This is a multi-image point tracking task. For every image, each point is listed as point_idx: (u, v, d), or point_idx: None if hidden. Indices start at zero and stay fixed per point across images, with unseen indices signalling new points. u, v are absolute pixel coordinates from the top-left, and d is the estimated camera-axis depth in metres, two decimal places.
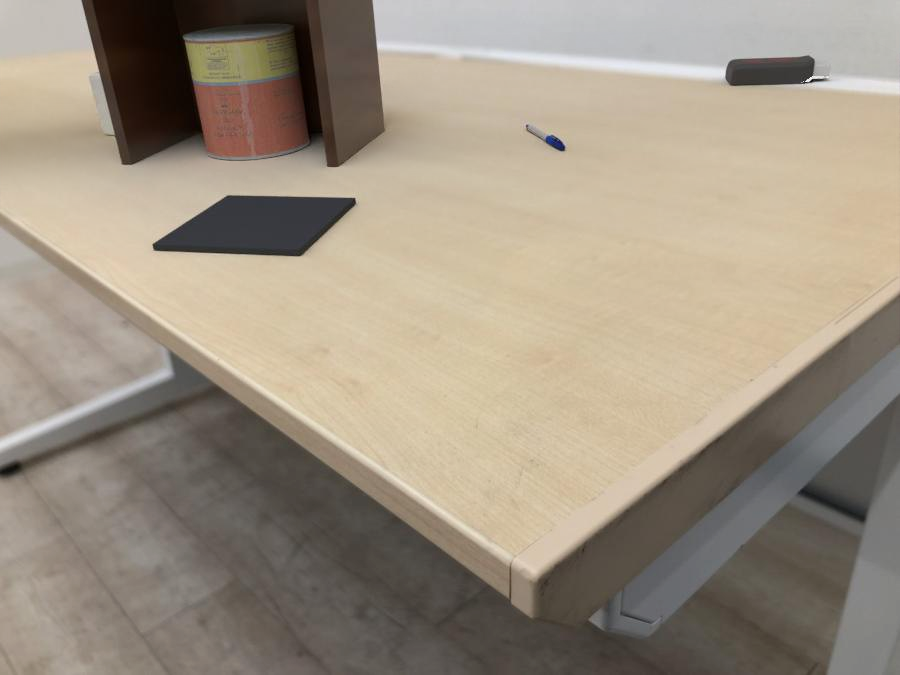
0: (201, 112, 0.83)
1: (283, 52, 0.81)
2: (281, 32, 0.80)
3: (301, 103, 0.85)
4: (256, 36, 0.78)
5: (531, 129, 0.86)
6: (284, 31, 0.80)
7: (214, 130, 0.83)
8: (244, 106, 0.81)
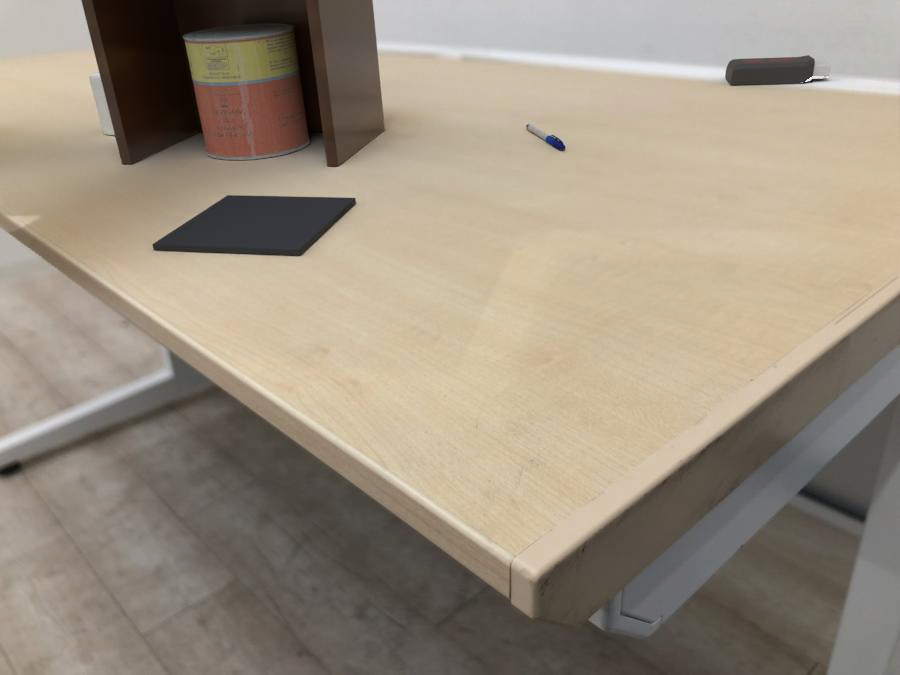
0: (201, 112, 0.83)
1: (283, 51, 0.81)
2: (281, 32, 0.80)
3: (301, 103, 0.85)
4: (256, 36, 0.78)
5: (531, 129, 0.86)
6: (284, 31, 0.80)
7: (214, 130, 0.83)
8: (244, 106, 0.81)
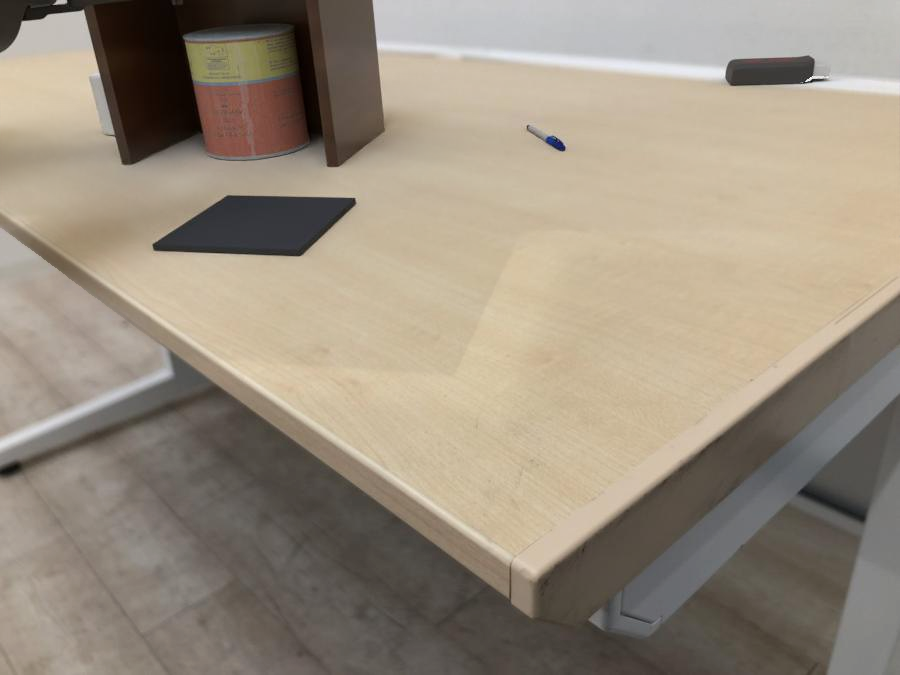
0: (201, 112, 0.83)
1: (283, 51, 0.81)
2: (281, 32, 0.80)
3: (301, 103, 0.85)
4: (256, 36, 0.78)
5: (532, 129, 0.86)
6: (284, 31, 0.80)
7: (214, 130, 0.83)
8: (244, 106, 0.81)
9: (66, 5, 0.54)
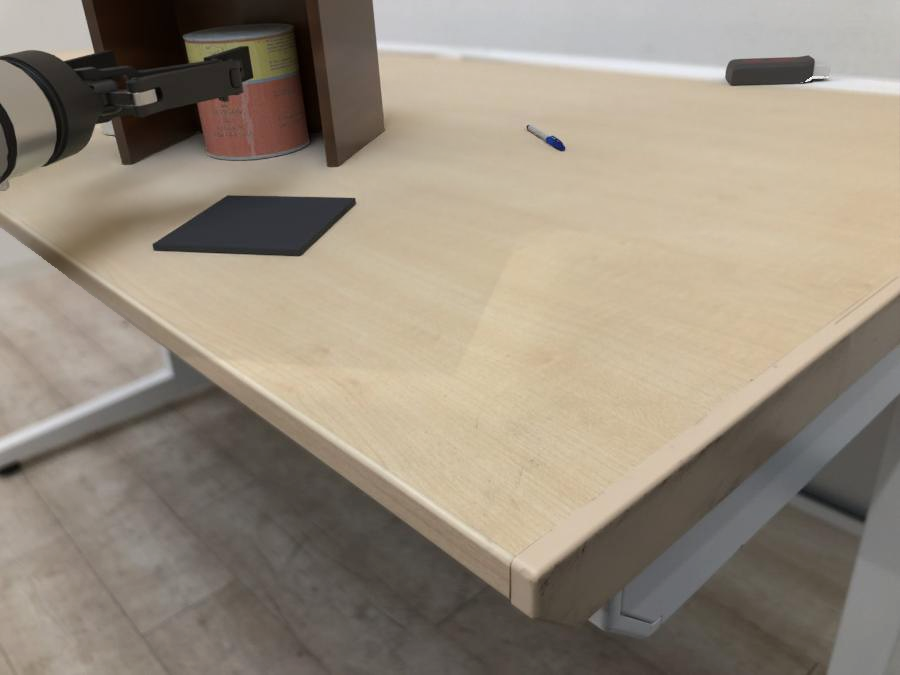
0: (201, 112, 0.83)
1: (283, 51, 0.81)
2: (281, 32, 0.80)
3: (301, 103, 0.85)
4: (256, 36, 0.78)
5: (531, 129, 0.86)
6: (284, 31, 0.80)
7: (214, 130, 0.83)
8: (244, 106, 0.81)
9: (129, 108, 0.61)
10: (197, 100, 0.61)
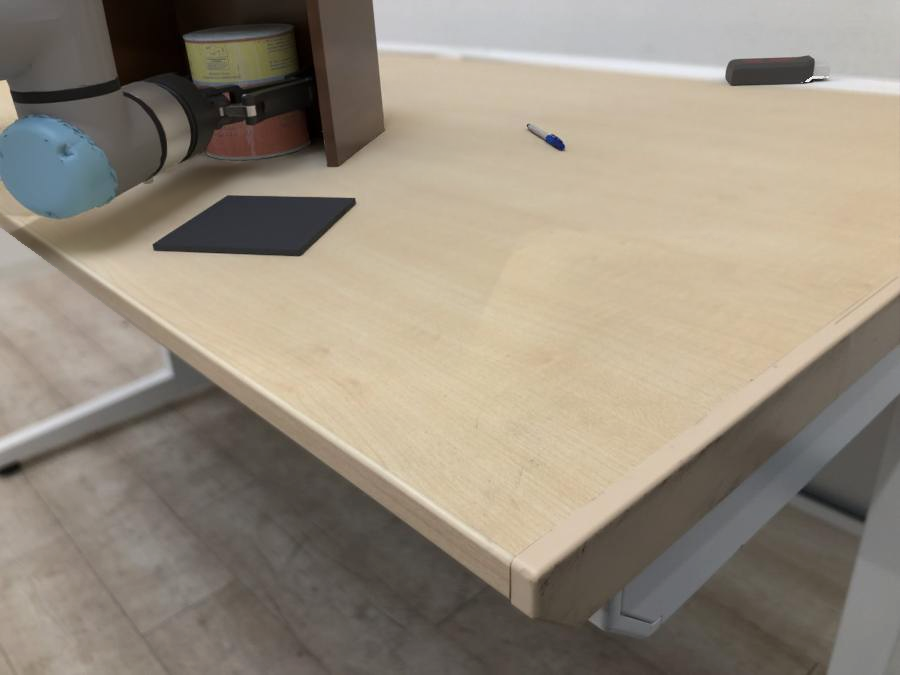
0: None
1: (283, 51, 0.81)
2: (281, 32, 0.80)
3: None
4: (256, 36, 0.78)
5: (532, 128, 0.86)
6: (284, 31, 0.80)
7: None
8: None
9: (234, 118, 0.77)
10: (287, 111, 0.77)
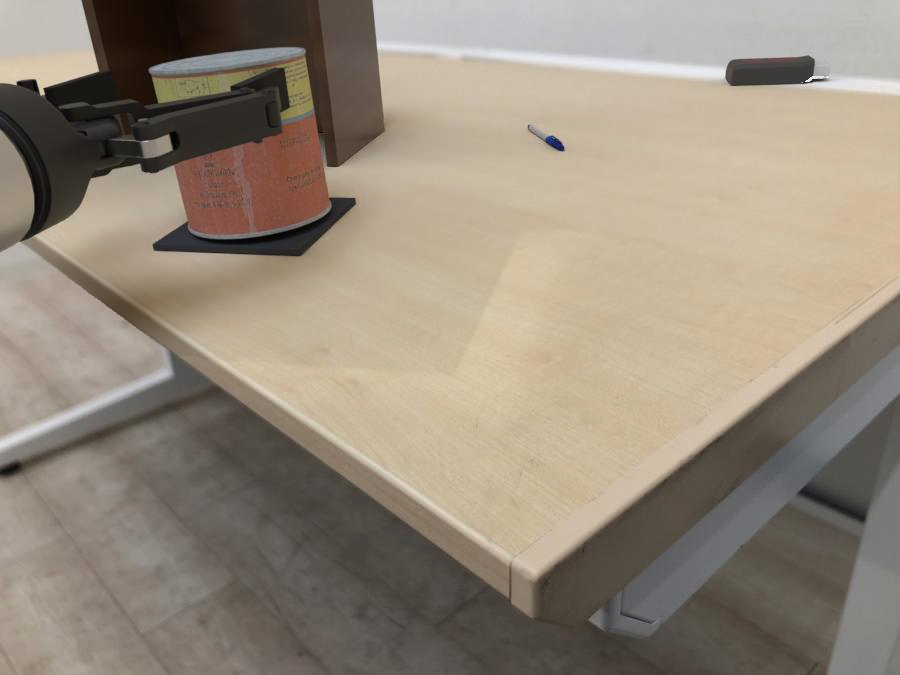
0: (178, 174, 0.59)
1: (291, 85, 0.57)
2: (287, 57, 0.56)
3: (318, 155, 0.61)
4: (251, 64, 0.54)
5: (532, 129, 0.86)
6: (291, 56, 0.56)
7: (196, 198, 0.59)
8: (237, 164, 0.56)
9: (134, 157, 0.46)
10: (224, 146, 0.46)
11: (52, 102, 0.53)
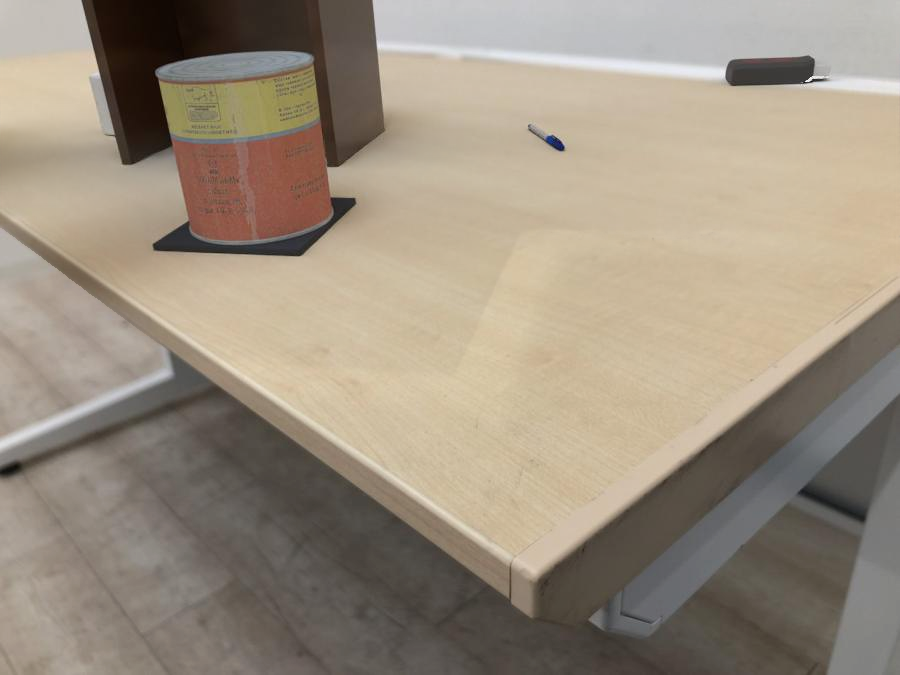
0: (182, 177, 0.59)
1: (298, 94, 0.57)
2: (295, 67, 0.56)
3: (322, 163, 0.61)
4: (259, 74, 0.54)
5: (533, 129, 0.86)
6: (300, 65, 0.56)
7: (199, 203, 0.59)
8: (241, 173, 0.56)
9: None
10: None
11: None
